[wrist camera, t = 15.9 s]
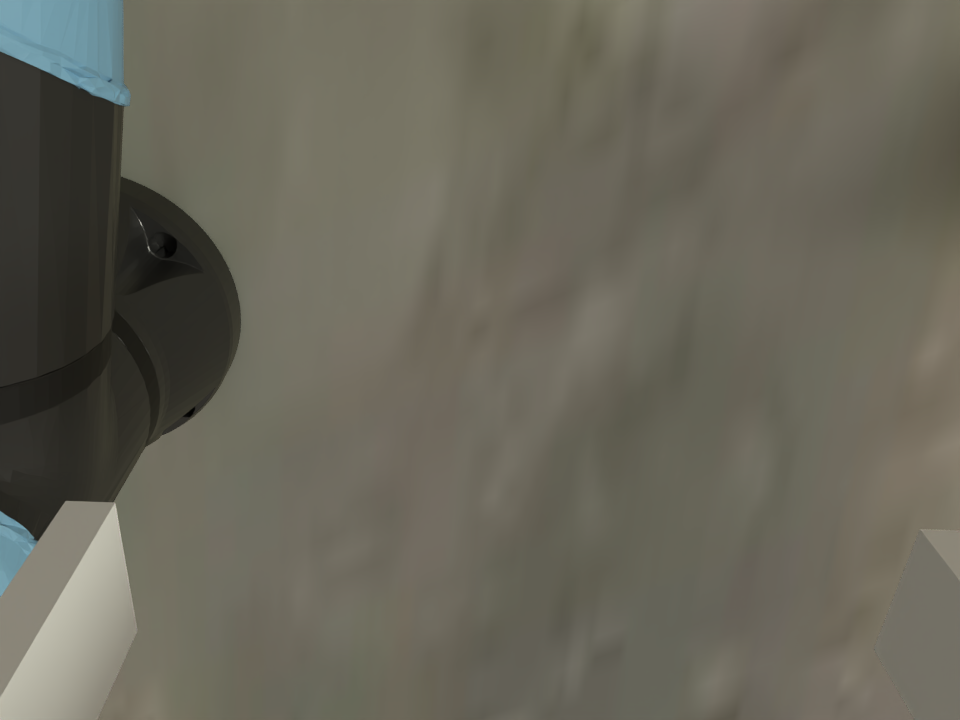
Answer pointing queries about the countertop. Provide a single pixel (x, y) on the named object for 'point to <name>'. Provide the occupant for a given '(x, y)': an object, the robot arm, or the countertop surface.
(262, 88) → the countertop surface
